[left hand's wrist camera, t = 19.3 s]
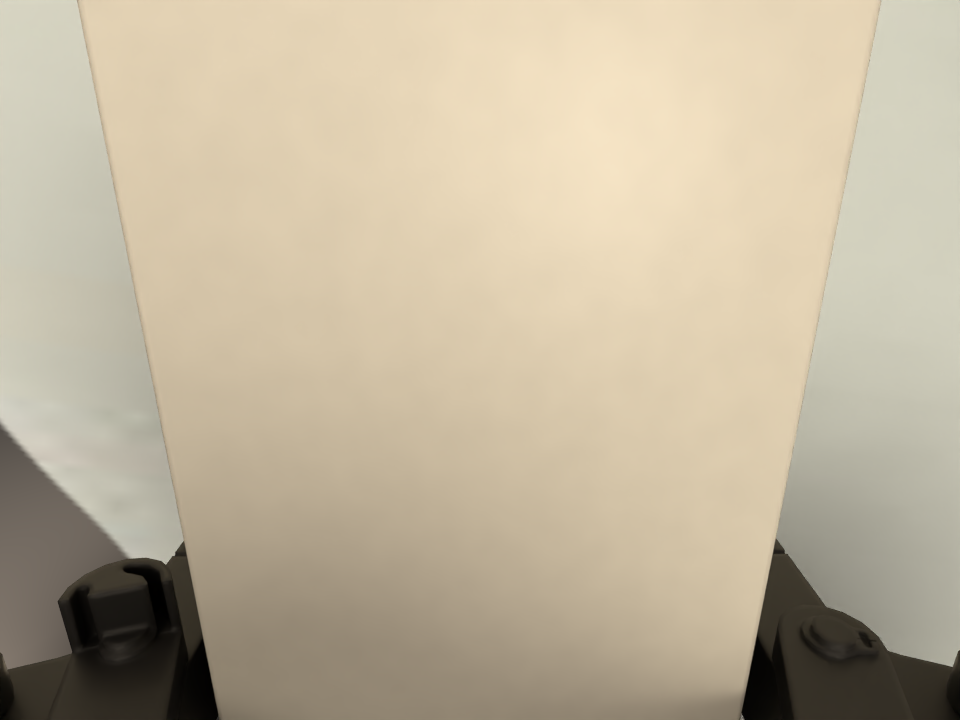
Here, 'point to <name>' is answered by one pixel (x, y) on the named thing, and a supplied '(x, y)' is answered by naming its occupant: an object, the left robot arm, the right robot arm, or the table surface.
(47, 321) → the table surface
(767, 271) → the box
